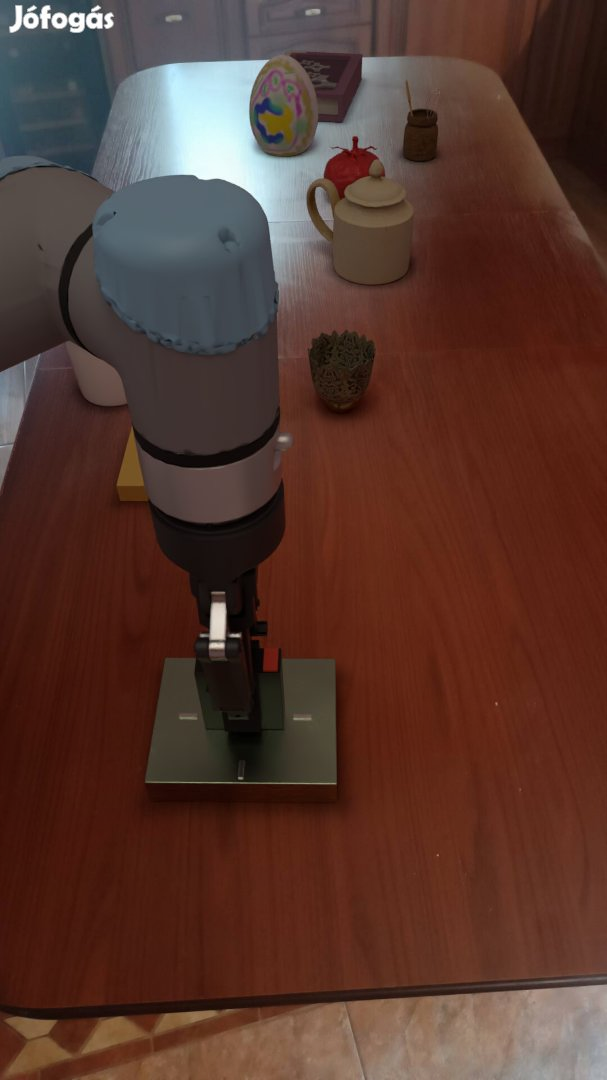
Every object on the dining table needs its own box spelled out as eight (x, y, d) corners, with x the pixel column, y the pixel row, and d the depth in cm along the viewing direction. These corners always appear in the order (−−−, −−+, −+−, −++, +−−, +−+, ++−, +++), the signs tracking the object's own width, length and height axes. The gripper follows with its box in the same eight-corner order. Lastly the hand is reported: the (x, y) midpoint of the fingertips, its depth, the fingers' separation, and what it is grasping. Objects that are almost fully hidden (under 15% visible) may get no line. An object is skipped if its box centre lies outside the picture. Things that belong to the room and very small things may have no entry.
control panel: (150, 801, 60) (143, 781, 58) (169, 677, 68) (164, 656, 65) (336, 803, 60) (337, 783, 58) (335, 678, 67) (335, 657, 65)
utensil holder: (434, 163, 140) (442, 88, 132) (399, 161, 141) (404, 86, 133) (437, 150, 144) (444, 76, 136) (402, 148, 145) (407, 74, 137)
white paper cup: (94, 421, 92) (70, 330, 83) (62, 379, 98) (36, 290, 89) (170, 392, 95) (155, 301, 87) (135, 354, 101) (118, 265, 92)
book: (287, 75, 174) (287, 49, 170) (361, 79, 171) (362, 53, 168) (260, 118, 156) (259, 90, 153) (342, 122, 154) (342, 94, 151)
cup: (321, 382, 96) (321, 323, 91) (380, 394, 95) (384, 335, 89) (299, 418, 92) (297, 358, 86) (360, 432, 90) (362, 372, 84)
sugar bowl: (304, 285, 112) (303, 176, 101) (307, 248, 120) (306, 143, 109) (411, 286, 112) (421, 176, 101) (407, 248, 119) (416, 142, 108)
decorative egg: (241, 157, 144) (234, 63, 133) (264, 132, 152) (260, 42, 141) (306, 164, 141) (305, 69, 130) (326, 139, 149) (327, 47, 138)
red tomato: (324, 211, 128) (325, 151, 121) (321, 185, 135) (322, 126, 128) (386, 210, 128) (390, 149, 121) (380, 183, 135) (383, 125, 128)
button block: (120, 501, 83) (112, 472, 80) (135, 439, 90) (129, 410, 87) (235, 501, 82) (232, 472, 80) (242, 439, 89) (239, 410, 86)
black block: (205, 728, 61) (193, 671, 55) (207, 703, 62) (196, 645, 57) (283, 729, 61) (280, 671, 55) (284, 704, 62) (281, 645, 57)
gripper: (278, 590, 39) (291, 806, 56) (287, 397, 49) (296, 629, 66) (123, 589, 39) (183, 805, 56) (165, 397, 49) (205, 629, 66)
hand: (244, 709), depth 61 cm, fingers closed on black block, 2 cm apart
